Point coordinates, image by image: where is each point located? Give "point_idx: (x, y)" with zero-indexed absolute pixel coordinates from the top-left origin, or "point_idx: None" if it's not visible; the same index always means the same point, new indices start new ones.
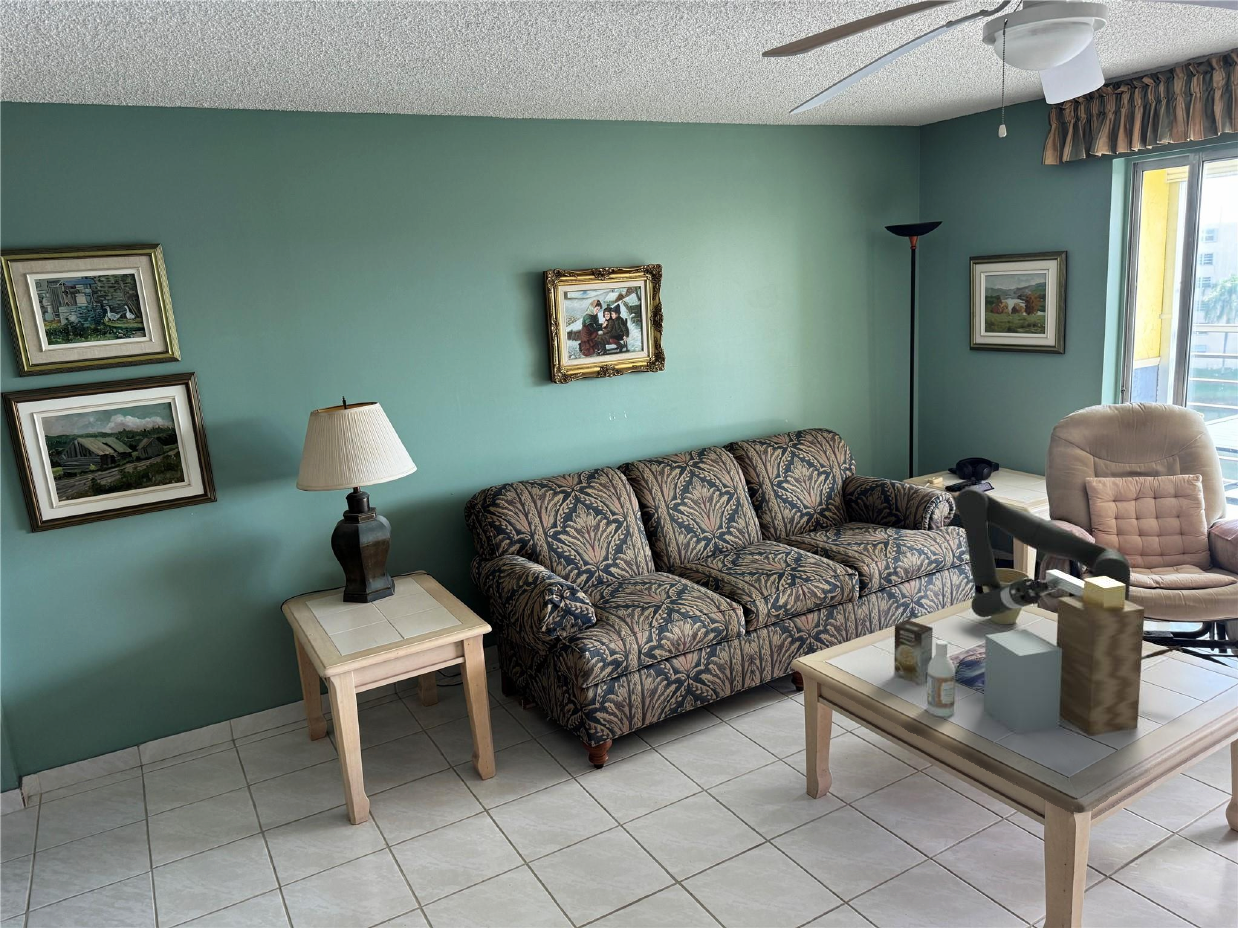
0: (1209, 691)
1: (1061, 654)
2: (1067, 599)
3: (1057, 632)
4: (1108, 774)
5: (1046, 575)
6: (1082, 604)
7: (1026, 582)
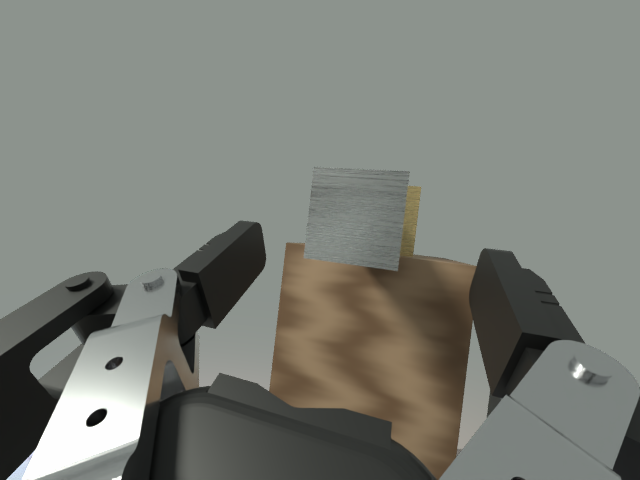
0: (24, 472)
1: (490, 401)
2: (450, 262)
3: (461, 402)
4: (456, 455)
5: (404, 214)
6: (429, 258)
7: (609, 475)
